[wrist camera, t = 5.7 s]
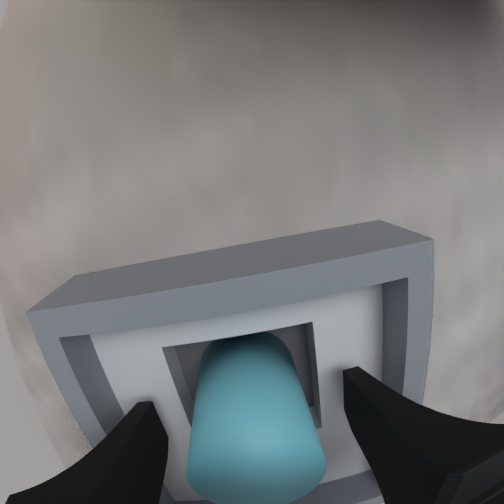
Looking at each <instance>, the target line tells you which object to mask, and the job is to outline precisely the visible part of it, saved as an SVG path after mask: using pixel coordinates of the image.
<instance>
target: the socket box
mask: <svg viewBox="0 0 504 504" xmlns="http://www.w3.org/2000/svg"><path fill="white" fill-rule="evenodd" d="M433 297H434V239H432V238H429V237H426V236H424V235H421V234H418V233H415V232H413V231H410V230H407V229H404V228H401V227H398V226H396V225H393V224H390V223H387V222H384V221H381V220H378V221H372V222H366V223H361V224H355V225H349V226H343V227H338V228H332V229H326V230H321V231H315V232H309V233H304V234H298V235H293V236H287V237H281V238H276V239H270V240H265V241H259V242H254V243H248V244H243V245H237V246H232V247H226V248H221V249H215V250H210V251H204V252H199V253H194V254H188V255H183V256H177V257H172V258H167V259H161V260H156V261H151V262H145V263H140V264H135V265H129V266H124V267H119V268H114V269H108V270H103V271H98V272H93V273H88V274H82V275H77V276H74V277H73V278H71V279H70V280H68V281H67V282H66V283H64V284H63V285H61V286H60V287H59V288H57V289H56V290H55V291H53V292H52V293H51V294H49V295H48V296H47V297H45V298H44V299H42V300H41V301H40V302H39V303H37V304H36V305H35V306H33V307H32V308H31V309H29V310H28V311H27V312H26V313H27V316H28V319H29V321H30V324H31V327H32V329H33V332H34V334H35V337H36V339H37V342H38V344H39V346H40V349H41V351H42V353H43V356H44V358H45V360H46V362H47V364H48V367H49V369H50V371H51V373H52V375H53V377H54V379H55V381H56V383H57V385H58V387H59V389H60V391H61V393H62V395H63V397H64V399H65V401H66V403H67V404H68V406H69V408H70V410H71V412H72V413H73V415H74V417H75V419H76V420H77V422H78V424H79V426H80V427H81V429H82V431H83V432H84V434H85V435H86V437H87V439H88V440H89V442H90V443H91V445H92V447H93V448H95V447H96V446H97V445H98V444H99V443H100V442H101V441H102V440H103V439H104V438H105V437H106V436H107V435H108V434H109V433H110V432H111V431H112V430H113V429H114V427H115V426H116V425H117V424H118V423H119V422H120V421H121V420H122V419H123V418H124V416H125V415H126V414H127V413H128V412H129V411H130V410H131V409H132V408H133V407H134V405H135V404H136V403H137V402H145V401H153V404H154V406H155V408H156V411H157V413H158V415H159V417H160V420H161V422H162V424H163V426H164V428H165V430H166V432H167V435H168V437H169V444H168V460H167V465H166V471H165V476H164V481H163V486H162V491H161V496H160V501H159V504H215V503H213V502H210V501H208V500H206V499H204V498H203V497H201V496H200V495H198V494H197V493H196V492H195V491H194V490H193V489H192V487H191V486H190V484H189V483H188V480H187V477H186V469H187V460H188V452H189V444H190V435H191V427H192V420H193V412H194V404H195V397H196V390H197V382H198V375H199V368H200V362H201V357H202V355H203V352H204V351H205V349H206V347H207V346H208V345H209V344H210V343H211V342H212V341H213V340H216V339H222V338H228V337H234V336H240V335H246V334H252V333H257V332H263V331H267V332H269V333H272V334H274V335H275V336H277V337H278V338H280V339H281V340H282V341H283V342H284V343H285V344H286V346H287V347H288V348H289V350H290V352H291V355H292V358H293V361H294V364H295V367H296V370H297V373H298V376H299V379H300V382H301V385H302V388H303V392H304V395H305V398H306V401H307V404H308V407H309V410H310V413H311V416H312V419H313V422H314V425H315V428H316V431H317V434H318V437H319V440H320V443H321V446H322V449H323V452H324V455H325V459H326V463H327V468H326V472H325V475H324V477H323V479H322V480H321V482H320V483H319V484H318V485H317V486H316V487H315V488H314V489H313V490H312V491H310V492H309V493H308V494H306V495H305V496H303V497H301V498H299V499H297V500H295V501H293V502H290V503H287V504H380V503H383V502H384V500H383V497H382V494H381V491H380V488H379V486H378V483H377V480H376V478H375V476H374V473H373V471H372V469H371V467H370V466H369V464H368V462H367V460H366V458H365V456H364V454H363V452H362V450H361V448H360V446H359V445H358V443H357V441H356V439H355V437H354V435H353V433H352V431H351V428H350V426H349V423H348V420H347V417H346V414H345V411H344V397H343V370H345V369H349V368H352V367H356V366H359V367H360V368H362V369H363V370H365V371H366V372H367V373H369V374H370V375H372V376H373V377H375V378H376V379H377V380H379V381H380V382H382V383H383V384H385V385H386V386H388V387H390V388H391V389H393V390H394V391H396V392H398V393H399V394H401V395H403V396H405V397H406V398H408V399H410V400H412V401H414V402H416V403H418V404H420V405H422V402H423V396H424V390H425V384H426V377H427V369H428V361H429V352H430V342H431V331H432V317H433Z"/></svg>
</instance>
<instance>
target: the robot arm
mask: <svg viewBox="0 0 504 504" xmlns="http://www.w3.org/2000/svg"><path fill="white" fill-rule="evenodd" d="M343 397H344V411H345V414H346V417H347V420H348V423H349V426H350V428H351V431H352V433H353V435H354V437H355V439H356V441H357V443H358V445H359V446H360V448H361V450H362V452H363V454H364V456H365V458H366V460H367V462H368V464H369V466H370V467H371V469H372V471H373V473H374V476H375V478H376V480H377V483H378V486H379V488H380V491H381V494H382V497H383V500H384V503H385V504H504V424H491V423H482V422H476V421H470V420H465V419H461V418H457V417H453V416H450V415H446V414H443V413H440V412H437V411H435V410H432V409H430V408H427V407H425V406H423V405H420V404H418V403H416V402H414V401H412V400H410V399H408V398H406V397H405V396H403V395H401V394H399V393H398V392H396V391H394V390H393V389H391V388H390V387H388V386H386V385H385V384H383V383H382V382H380V381H379V380H377V379H376V378H375V377H373V376H372V375H370V374H369V373H367V372H366V371H365V370H363V369H362V368H360V367H359V366H356V367H352V368H349V369H345V370H343ZM168 444H169V437H168V435H167V432H166V430H165V428H164V426H163V424H162V422H161V420H160V417H159V415H158V413H157V411H156V408H155V406H154V404H153V401H145V402H137V403H136V404H135V405H134V407H133V408H132V409H131V410H130V411H129V412H128V413H127V414H126V415H125V416H124V418H123V419H122V420H121V421H120V422H119V423H118V424H117V425H116V426H115V427H114V429H113V430H112V431H111V432H110V433H109V434H108V435H107V436H106V437H105V438H104V439H103V440H102V441H101V442H100V443H99V444H98V445H97V446H96V447H95V448H93V449H92V450H91V451H90V452H89V453H88V454H87V455H85V456H84V457H83V458H82V459H80V460H79V461H78V462H76V463H75V464H74V465H72V466H71V467H69V468H68V469H66V470H65V471H63V472H61V473H60V474H58V475H57V476H55V477H53V478H51V479H49V480H47V481H46V482H44V483H41V484H39V485H37V486H35V487H32V488H30V489H27V490H24V491H21V492H18V493H15V494H12V495H10V496H9V497H8V499H7V501H6V503H5V504H159V501H160V496H161V491H162V486H163V481H164V476H165V471H166V465H167V460H168Z"/></svg>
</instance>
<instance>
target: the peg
mask: <svg viewBox="0 0 504 504" xmlns="http://www.w3.org/2000/svg"><path fill="white" fill-rule="evenodd" d="M326 468H327V463H326V459H325V455H324V452H323V449H322V446H321V443H320V440H319V437H318V434H317V431H316V428H315V425H314V422H313V419H312V416H311V413H310V410H309V407H308V404H307V401H306V398H305V395H304V392H303V388H302V385H301V382H300V379H299V376H298V373H297V370H296V367H295V364H294V361H293V358H292V355H291V352H290V350H289V348H288V347H287V346H286V344H285V343H284V342H283V341H282V340H281V339H280V338H278V337H277V336H275V335H274V334H272V333H269V332H267V331H263V332H257V333H252V334H246V335H240V336H234V337H228V338H222V339H216V340H213V341H212V342H211V343H210V344H209V345H208V346H207V347H206V349H205V351H204V352H203V355H202V357H201V362H200V368H199V375H198V382H197V390H196V397H195V404H194V412H193V420H192V427H191V435H190V444H189V452H188V460H187V469H186V477H187V480H188V483H189V484H190V486H191V487H192V489H193V490H194V491H195V492H196V493H197V494H198V495H200V496H201V497H203V498H204V499H206V500H208V501H210V502H213V503H215V504H287V503H290V502H293V501H295V500H297V499H299V498H301V497H303V496H305V495H306V494H308V493H309V492H310V491H312V490H313V489H314V488H315V487H316V486H317V485H318V484H319V483H320V482H321V480H322V479H323V477H324V475H325V472H326Z"/></svg>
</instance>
